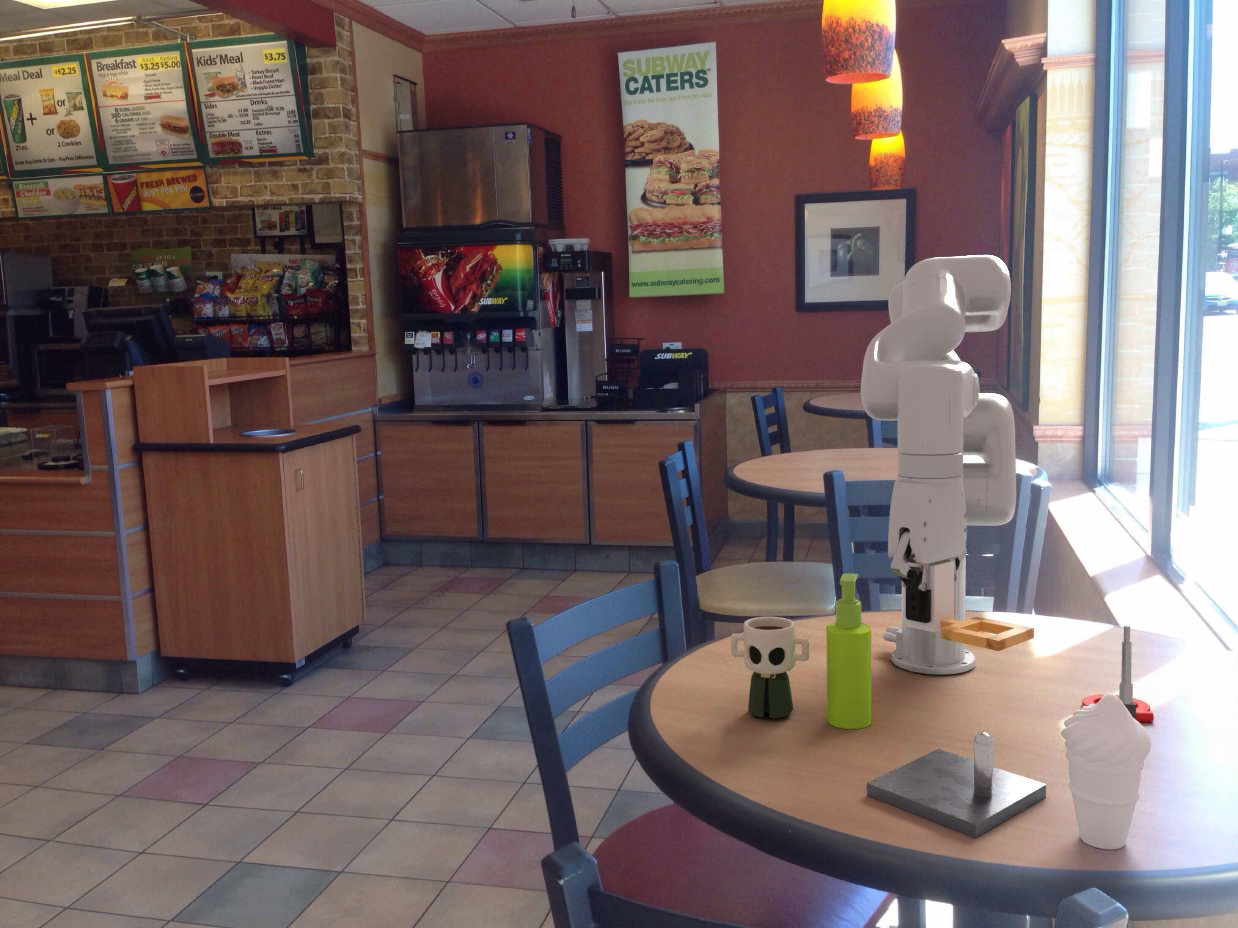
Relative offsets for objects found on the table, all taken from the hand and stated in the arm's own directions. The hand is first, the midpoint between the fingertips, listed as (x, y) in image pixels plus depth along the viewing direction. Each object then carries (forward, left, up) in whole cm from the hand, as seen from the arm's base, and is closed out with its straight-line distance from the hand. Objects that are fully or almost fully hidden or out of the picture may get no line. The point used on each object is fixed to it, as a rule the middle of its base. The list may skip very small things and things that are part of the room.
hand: (929, 615), depth 128 cm
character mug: (-24, -3, -18) cm, 30 cm away
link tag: (+5, 0, -1) cm, 5 cm away
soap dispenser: (-15, +3, -18) cm, 24 cm away
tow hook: (+8, +31, -18) cm, 37 cm away
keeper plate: (+8, -7, -18) cm, 21 cm away
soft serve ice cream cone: (+24, -5, -18) cm, 31 cm away
